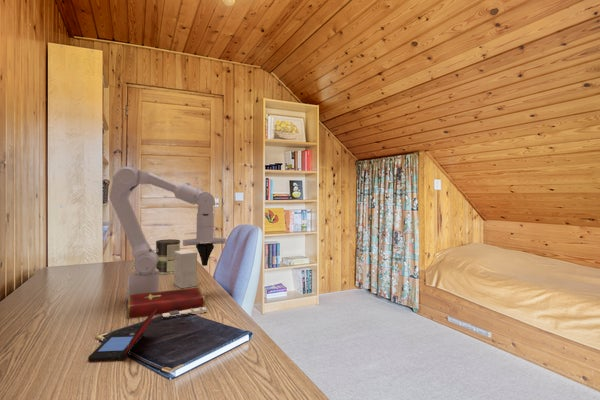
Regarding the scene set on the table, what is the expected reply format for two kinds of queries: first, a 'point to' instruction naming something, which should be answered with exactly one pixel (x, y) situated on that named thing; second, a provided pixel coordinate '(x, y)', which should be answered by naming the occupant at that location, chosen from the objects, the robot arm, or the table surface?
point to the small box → (185, 268)
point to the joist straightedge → (185, 312)
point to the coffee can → (166, 255)
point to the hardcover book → (164, 302)
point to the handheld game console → (119, 344)
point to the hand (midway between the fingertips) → (204, 265)
